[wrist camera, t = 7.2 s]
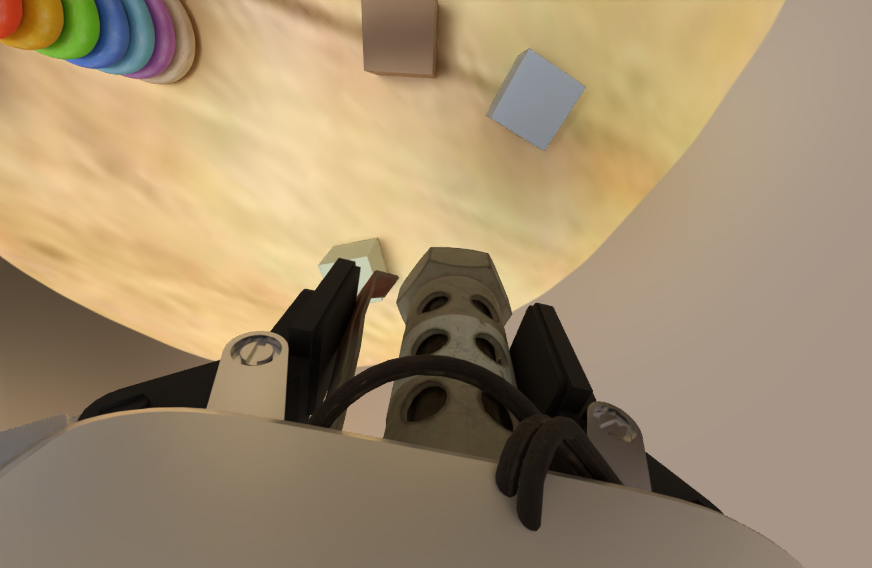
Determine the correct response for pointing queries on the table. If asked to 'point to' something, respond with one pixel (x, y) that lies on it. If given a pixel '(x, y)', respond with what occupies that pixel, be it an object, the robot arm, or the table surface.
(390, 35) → the walnut cube
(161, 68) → the stacking toy
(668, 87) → the table surface
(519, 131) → the slate blue cube
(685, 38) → the table surface
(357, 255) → the sage cube
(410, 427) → the grenade model
